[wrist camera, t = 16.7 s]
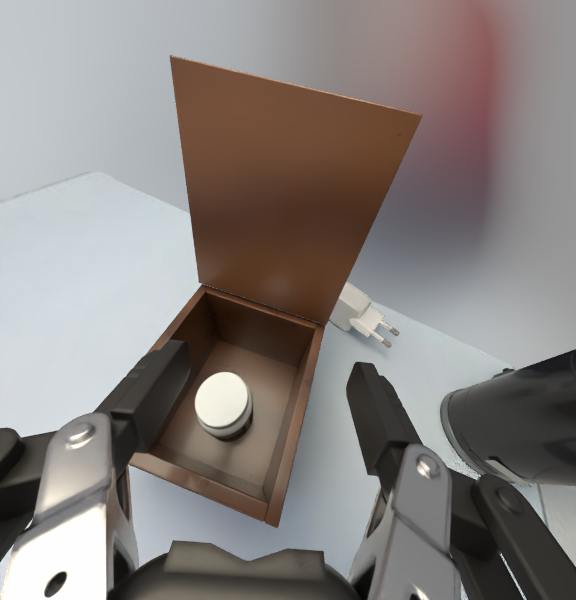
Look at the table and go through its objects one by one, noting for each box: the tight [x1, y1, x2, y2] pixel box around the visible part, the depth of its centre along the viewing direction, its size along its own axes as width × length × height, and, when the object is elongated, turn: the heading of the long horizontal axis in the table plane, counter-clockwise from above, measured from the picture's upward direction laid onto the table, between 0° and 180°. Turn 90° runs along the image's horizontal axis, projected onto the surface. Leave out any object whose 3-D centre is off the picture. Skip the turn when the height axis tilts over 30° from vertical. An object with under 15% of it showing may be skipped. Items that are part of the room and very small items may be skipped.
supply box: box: [128, 284, 325, 528], centre depth 20 cm, size 14×13×11 cm
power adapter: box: [329, 281, 399, 348], centre depth 31 cm, size 11×5×6 cm, turn 47°
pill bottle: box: [195, 372, 253, 442], centre depth 20 cm, size 5×5×8 cm
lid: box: [170, 55, 423, 325], centre depth 15 cm, size 14×13×1 cm
